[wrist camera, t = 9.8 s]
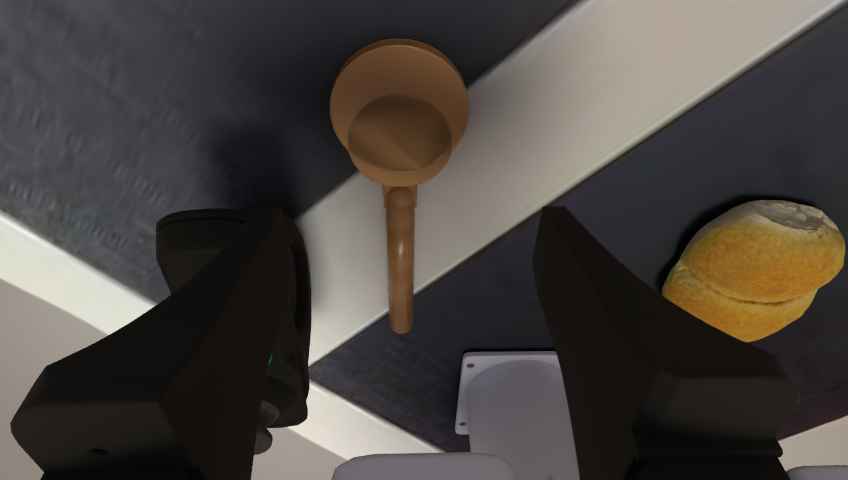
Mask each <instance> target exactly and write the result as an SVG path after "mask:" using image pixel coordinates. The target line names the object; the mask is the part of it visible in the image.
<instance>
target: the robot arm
mask: <svg viewBox="0 0 848 480" xmlns="http://www.w3.org/2000/svg"><path fill="white" fill-rule="evenodd" d="M532 265H533V271H534V277H535V283H536V289H537V293H538V297H539V300H540V303H541V307H542V310H543V313H544V316H545V320H546V323H547V326H548V329H549V332H550V335H551V338H552V342H553V345H554V348H555V351H508V352H468V353H465V354H464V355H463V359H462V368H461V377H460V386H459V395H458V404H457V413H456V422H455V432H456V433H457V434H461V435H462V434H469V440H470V450H471V452H458V453H408V454H372V455H366V456H359V457H354V458H352V459H350V460H348V461H346V462H345V463H343V464H341V465H339V466H338V467H337V468H336V469H335V471H334V474H333V477H332V479H331V480H848V466H847V465H833V466H832V465H830V466H829V465H828V466H801V467H795V468H792V469H790V470H788V471H786V472H785V470H784V468H783V466H782V464H781V463H780V461H779V459H778V457H781V456H782V454H783V452H782V451H783V450H782V448H781V447H780V445H779V443H778V441H777V440H776V438H775V436H776V435H777V434H778V433H779V431H780V430H781V429H782V428H783V427H784V425H785V424H786V423H787V422H788V421H789V419H790V418H791V417H792V416H793V414H794V413H795V411H796V409H797V408H798V406H799V404H800V393H799V391H798V389H797V387H796V385H795V384H794V382H793V381H792V379H791V378H790V376H789V375H788V373H787V372H786V370H785V369H784V367H783V366H782V364H781V363H780V361H779V360H778V359H777V358H776V356H775V355H773V354H771V353H769V352H766V351H764V350H762V349H760V348H757V347H755V346H753V345H751V344H748V343H746V342H744V341H742V340H739V339H737V338H735V337H733V336H731V335H729V334H727V333H725V332H723V331H721V330H719V329H717V328H715V327H713V326H711V325H709V324H708V323H706V322H704V321H702V320H701V319H699V318H697V317H695V316H693V315H692V314H690V313H689V312H687V311H685V310H684V309H682V308H681V307H679V306H677V305H676V304H674V303H673V302H671V301H670V300H668V299H667V298H665V297H664V296H662V295H661V294H659V293H658V292H657V291H655V290H654V289H653V288H651V287H650V286H648V285H647V284H646V283H644V282H643V281H642V280H641V279H639V278H638V277H637V276H636V275H634V274H633V273H632V272H631V271H630V270H628V269H627V268H626V267H625V266H624V265H623V264H622V263H620V262H619V261H618V260H617V259H616V258H615V257H614V256H613V255H612V254H610V253H609V252H608V251H607V250H606V249H605V248H604V247H603V246H602V245H601V244H600V243H599V242H598V241H597V240H596V239H595V238H594V237H593V236H592V235H591V234H590V233H589V232H588V231H587V230H586V229H585V227H584V226H583V225H582V224H581V223H580V222H579V221H578V220H577V219H576V218H575V217H574V216H573V215H572V214H571V213H570V212H569V211H568V210H567V208H566V207H543V208H542V213H541V218H540V223H539V229H538V234H537V239H536V244H535V249H534V254H533V259H532ZM291 270H292V259H291V254H290V249H289V244H288V239H287V234H286V229H285V223H284V218H283V213H282V208H259V209H258V210H257V211H256V212H255V213H254V214H253V215H252V216H251V217H250V218H249V220H248V221H247V222H246V223H245V224H244V225H243V226H242V227H241V229H240V230H239V231H238V232H237V233H236V234H235V235H234V236H233V237H232V238H231V240H230V241H229V242H228V243H227V244H226V245H225V246H224V247H223V248H222V249H221V250H220V251H219V252H218V253H217V254H216V255H215V256H214V257H213V258H212V259H211V260H210V261H209V262H208V263H207V264H206V265H205V266H204V267H203V268H202V269H201V270H200V271H199V272H198V273H196V274H195V275H194V276H193V277H192V278H191V279H190V280H189V281H188V282H186V283H185V284H184V285H183V286H182V287H180V288H179V289H178V290H176V291H175V292H174V293H173V294H171V295H170V296H169V297H167V298H166V299H165V300H163V301H162V302H161V303H159V304H158V305H156V306H155V307H153V308H152V309H150V310H149V311H147V312H146V313H144V314H143V315H141V316H140V317H138V318H137V319H135V320H134V321H132V322H131V323H129V324H127V325H126V326H124V327H122V328H121V329H119V330H117V331H116V332H114V333H112V334H110V335H108V336H107V337H105V338H103V339H101V340H99V341H98V342H96V343H94V344H92V345H90V346H88V347H86V348H84V349H82V350H80V351H78V352H75V353H73V354H71V355H69V356H67V357H65V358H63V359H61V360H59V361H57V362H54V363H52V364H50V365H48V366H46V367H45V369H44V370H43V371H42V373H41V374H40V376H39V377H38V379H37V380H36V382H35V383H34V385H33V386H32V388H31V389H30V391H29V393H28V394H27V396H26V398H25V399H24V401H23V403H22V404H21V406H20V408H19V409H18V411H17V412H16V414H15V415H14V417H13V419H12V421H11V423H10V424H11V432H12V434H13V436H14V438H15V439H16V440H17V442H18V444H19V445H20V446H21V447H22V448H23V449H24V451H25V452H26V453H27V454H28V455H29V456H30V457H31V458H32V459H33V460H34V461H35V463H36V464H37V465H38V466H39V467H40V468H41V469H42V470H43V471H44V474H43V476H42V478H41V480H251V473H252V465H253V456H254V449H255V442H256V435H257V428H258V421H259V414H260V408H261V402H262V396H263V390H264V384H265V378H266V373H267V369H268V365H269V361H270V357H271V354H272V350H273V347H274V343H275V340H276V336H277V333H278V329H279V326H280V322H281V319H282V315H283V311H284V308H285V304H286V301H287V297H288V292H289V285H290V278H291Z"/></svg>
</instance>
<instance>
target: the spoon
mask: <svg viewBox="0 0 848 480" xmlns="http://www.w3.org/2000/svg"><path fill="white" fill-rule="evenodd" d="M468 116H469V103H468V96H467V91H466V88H465V84H464V81H463V79H462V77H461V74H460V73H459V71H458V70H457V68H456V67H455V65H454V64H453V63H452V62H451V60H450V59H448V58H447V57H446V56H445V55H444V54H443V53H441V52H440V51H439V50H437V49H436V48H434V47H432V46H430V45H428V44H425V43H422V42H420V41H416V40H411V39H402V38H395V39H386V40H381V41H377V42H374V43H371V44H369V45H367V46H365V47H363V48H361V49H360V50H359V51H357V52H356V53H354V54H353V55H352V56H351V57H350V58H349V59H348V60H347V61H346V62H345V63H344V65H343V66H342V67H341V69H340V71H339V72H338V74H337V76H336V79H335V81H334V85H333V88H332V92H331V97H330V117H331V122H332V125H333V128H334V131H335V133H336V135H337V137H338V139H339V140H340V142H341V143H342V145H343V146H344V147H345V148H346V149H347V151H348V153H349V155H350V158H351V160H352V161H353V163H354V164H355V166H356V167H357V168H358V169H359V170H360V171H361V172H362V173H363V174H364V175H365V176H367V177H368V178H370V179H372V180H373V181H375V182H378V183H380V184H383V187H384V207H385V208H386V221H387V256H388V291H389V323H390V327H391V329H392V330H393V331H394V332H396V333H400V334H402V333H406V332H408V331H409V330H410V329H411V327H412V325H413V280H414V208H416V206H417V184H420V183H423V182H425V181H427V180H429V179H431V178H432V177H433V176H435V175H436V174H437V173H438V172H439V171H440V170H441V169H442V168H443V167H444V166H445V164H446V163H447V161H448V159H449V157H450V155H451V151H452V150H453V149H454V148H455V147H456V145H457V144H458V143H459V141H460V139H461V138H462V136H463V134H464V131H465V129H466V126H467V122H468Z"/></svg>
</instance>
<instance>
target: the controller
mask: <svg viewBox="0 0 848 480" xmlns="http://www.w3.org/2000/svg"><path fill="white" fill-rule="evenodd" d="M257 210H258V209H246V210H237V209H220V208H213V209H199V210H188V211H180V212H176V213H172V214H169V215H167V216H165V217H163V218H161V219H160V220H159V221H158V222H157V225H156V232H157V233H156V259H157V262H158V264H159V266H160V269H161V271H162V273H163V276H164V278H165V280H166V283H167V285H168V287H169V289H170V292H171V294H173V293H174V292H175V291H176V290H178V289H179V288H180V287H182V286H183V285H184V284H185V283H186V282H188V281H189V280H190V279H191V278H192V277H193V276H194V275H195V274H196V273H198V272H199V271H200V270H201V269H202V268H203V267H204V266H205V265H206V264H207V263H208V262H209V261H210V260H211V259H212V258H213V257H214V256H215V255H216V254H217V253H218V252H219V251H220V250H221V249H222V248H223V247H224V246H225V245H226V244H227V243H228V242H229V241H230V240H231V238H232V237H233V236H234V235H235V234H236V233H237V232H238V231H239V230H240V229H241V227H242V226H243V225H244V224H245V223H246V222H247V221H248V220H249V218H250V217H251V216H252V215H253V214H254V213H255V212H256V211H257ZM283 218H284V223H285V229H286V234H287V239H288V244H289V249H290V254H291V259H292V270H291V278H290V285H289V292H288V297H287V301H286V304H285V308H284V311H283V315H282V319H281V322H280V326H279V329H278V333H277V336H276V340H275V343H274V347H273V350H272V354H271V357H270V361H269V365H268V369H267V373H266V378H265V384H264V390H263V396H262V402H261V408H260V414H259V421H258V428H257V435H256V442H255V449H254V455H257V454H261V453H263V452H265V451H267V450H268V449H269V448H270V447H271V444H272V435H271V433H270V432H269V431H268V430H267V429H266V428H282V427H288V426H294V425H299V424H300V423H302V422H304V421H305V420H306V419H307V415H308V410H307V404H306V399H307V397H308V392H309V374H308V358H309V346H310V334H311V285H310V273H309V265H308V258H307V254H306V250H305V246H304V242H303V239H302V236H301V234H300V232H299V230H298V227H297V226H296V225H295V223H294V222H293V221H292V219H291V218H290V217H289V216H287V215H286V214H284V213H283Z"/></svg>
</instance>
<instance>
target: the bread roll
mask: <svg viewBox="0 0 848 480" xmlns="http://www.w3.org/2000/svg"><path fill="white" fill-rule="evenodd" d="M844 255H845V242H844V239H843V236H842V234H841V233H840V232H839V230H838V228H837V226H836V224H835V223H834V222H833V221H831V220H830V219H829V218H828V217H827V216H826V215H825V214H824V213H823V212H822V211H821V210H819V209H817V208H815V207H812V206H807V205H801V204H797V203H793V202H790V201H783V200H781V201H779V200H756V201H750V202H747V203H744V204H741V205H739V206H736V207H734V208H731V209H730V210H728V211H727V212H725V213H723V214H722V215H720V216H718V217H717V218H715V219H714V220H712V221H710V222H709V223H707V224H706V225H705V226H703V227H702V228H701V229H700V230H699V231H698V232H697V233H696V234H695V235H694V237H693V238H692V239H691V240H690V242H689V243H688V245H687V246H686V248H685V250H684V252H683V253H682V254H681V257H680V259H679V261H678V262H677V263H676V264H675V265H674V266H673V268H672V269H671V271H670V273H669V275H668V277H667V279H666V280H665V283H664V285H663V288H662V296H664V297H665V298H667V299H668V300H670V301H671V302H673V303H674V304H676V305H677V306H679V307H681V308H682V309H684V310H685V311H687V312H689V313H690V314H692V315H693V316H695V317H697V318H699V319H701V320H702V321H704V322H706V323H708V324H709V325H711V326H713V327H715V328H717V329H719V330H721V331H723V332H725V333H727V334H729V335H731V336H733V337H735V338H737V339H739V340H742V341H744V342H750V341H755V340H758V339H761V338H764V337H766V336H768V335H770V334H772V333H774V332H777V331H778V330H780V329H782V328H783V327H785V326H786V325H787V324H789V323H791V322H792V321H794V320H795V319H797V318H799V317H801V316H802V315H803V313H804V312H805V310H806V309H807V308H808V307H809V305H810V304H811V302H812V300H813V298H814V296H815V294H816V292H817V290H818V288H820V287H821V286H823V285H825V284H826V283H828V282H829V281H830V280H831V279H833V278H834V277H835V276H836V275H837V274H838V272H839V271H840V270H841V268H842V267H843V265H844Z"/></svg>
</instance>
